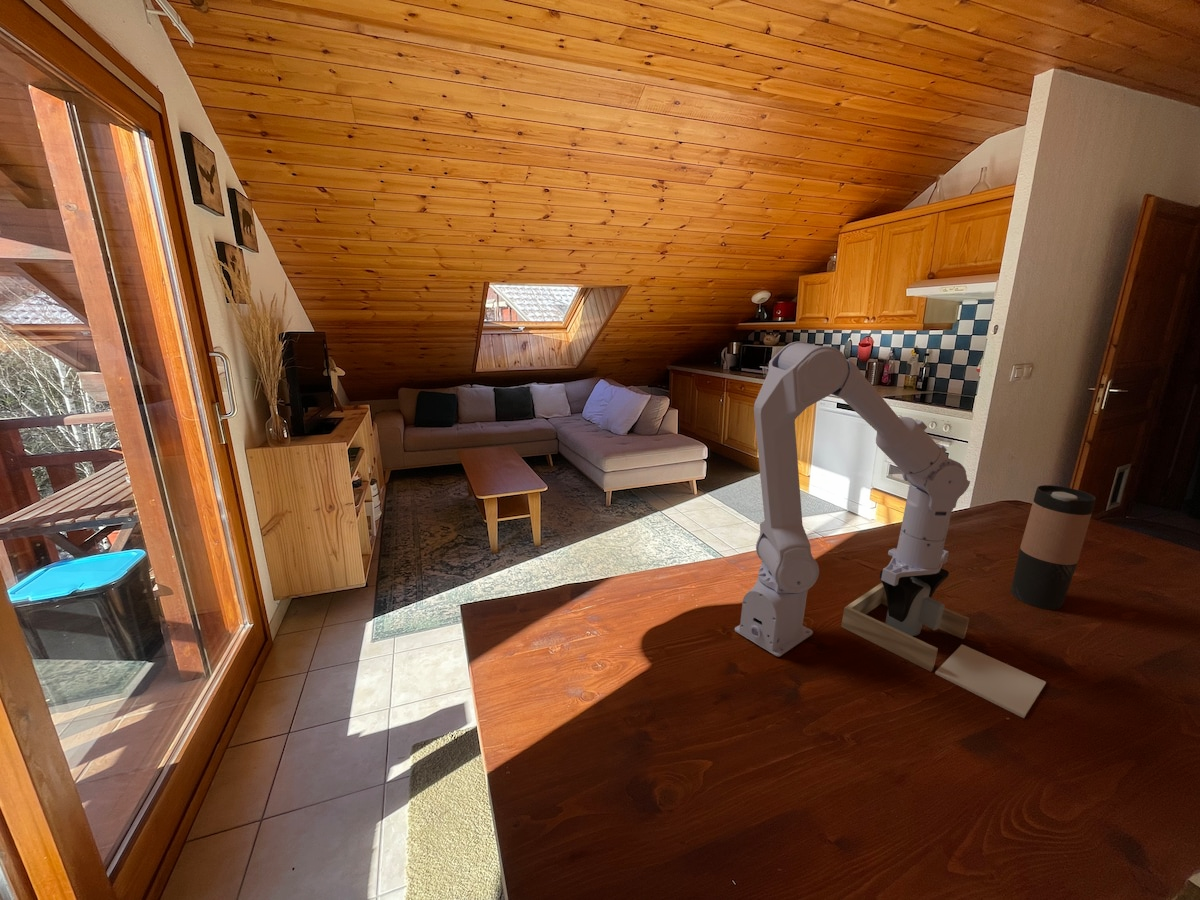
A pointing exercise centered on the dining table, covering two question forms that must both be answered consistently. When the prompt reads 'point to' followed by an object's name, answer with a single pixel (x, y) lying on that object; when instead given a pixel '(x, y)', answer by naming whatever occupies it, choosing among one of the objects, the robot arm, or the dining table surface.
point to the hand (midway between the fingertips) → (906, 613)
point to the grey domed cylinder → (919, 612)
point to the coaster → (992, 680)
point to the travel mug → (1051, 545)
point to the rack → (893, 637)
